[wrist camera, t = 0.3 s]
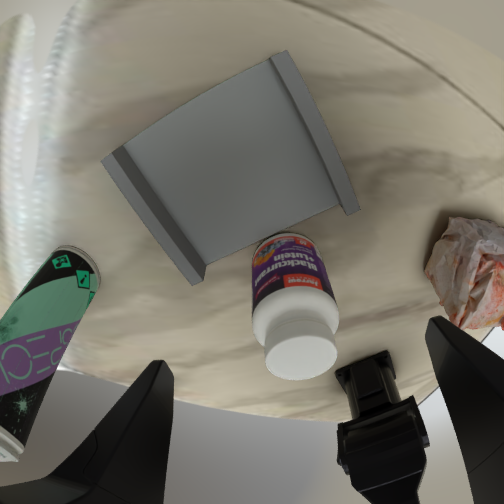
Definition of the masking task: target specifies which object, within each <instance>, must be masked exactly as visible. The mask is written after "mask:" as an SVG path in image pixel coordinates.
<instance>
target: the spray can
mask: <svg viewBox="0 0 504 504" xmlns="http://www.w3.org/2000/svg"><path fill="white" fill-rule="evenodd" d="M99 285H100V274H99V271H98V268H97V266H96V264H95V263H94V262H93V260H92V259H91V258H90V257H89V256H88V255H87V254H86V253H84V252H83V251H81V250H80V249H78V248H75V247H72V246H62V247H59V248H57V249H56V250H55V251H54V252H53V253H52V254H51V255H50V256H49V257H48V259H47V260H46V261H45V262H44V263H43V265H42V266H41V267H40V268H39V269H38V271H37V272H36V273H35V274H34V276H33V277H32V278H31V279H30V281H29V282H28V283H27V285H26V286H25V287H24V288H23V290H22V291H21V292H20V294H19V295H18V296H17V298H16V299H15V300H14V302H13V303H12V304H11V306H10V307H9V309H8V310H7V311H6V313H5V314H4V316H3V317H2V319H1V320H0V461H15V462H18V461H19V456H18V455H19V454H21V453H23V451H24V448H25V445H26V442H27V439H28V436H29V434H30V431H31V428H32V426H33V423H34V420H35V418H36V415H37V413H38V410H39V408H40V406H41V403H42V401H43V398H44V396H45V394H46V391H47V389H48V387H49V384H50V382H51V380H52V377H53V375H54V373H55V371H56V369H57V367H58V365H59V362H60V360H61V358H62V356H63V354H64V352H65V350H66V348H67V346H68V344H69V342H70V340H71V338H72V336H73V334H74V332H75V330H76V328H77V326H78V324H79V322H80V321H81V319H82V317H83V315H84V313H85V311H86V309H87V308H88V306H89V304H90V302H91V300H92V299H93V297H94V295H95V293H96V291H97V289H98V287H99Z"/></svg>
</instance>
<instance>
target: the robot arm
mask: <svg viewBox="0 0 504 504" xmlns="http://www.w3.org/2000/svg"><path fill="white" fill-rule="evenodd" d="M425 340H426V344H427V347H428V350H429V354H430V357H431V361H432V365H433V368H434V372H435V375H436V379H437V381H438V384H439V387H440V389H441V392H442V395H443V398H444V400H445V403H446V406H447V408H448V412H449V414H450V417H451V420H452V423H453V426H454V430H455V432H456V436H457V439H458V442H459V446H460V449H461V452H462V456H463V459H464V463H465V467H466V471H467V474H468V479H469V483H470V487H471V492H472V496H473V501H474V504H504V359H502V358H501V357H500V356H498V355H497V354H496V353H494V352H493V351H491V350H490V349H489V348H487V347H486V346H484V345H483V344H482V343H480V342H479V341H477V340H476V339H474V338H473V337H472V336H470V335H469V334H467V333H466V332H464V331H463V330H462V329H460V328H459V327H457V326H456V325H454V324H453V323H451V322H450V321H448V320H447V319H445V318H444V317H442V316H435V317H432V318H430V319H429V322H428V326H427V330H426V334H425ZM335 375H336V378H337V379H338V381H339V383H340V384H341V386H342V388H343V389H344V391H345V393H346V394H347V397H348V401H349V406H350V410H351V415H352V419H353V420H350V421H347V422H344V423H343V422H342V423H339V424H338V430H337V439H338V454H337V463H338V465H340V466H342V468H343V469H344V471H345V473H346V475H350V479H351V484H352V486H353V487H354V488H355V489H356V491H358V492H359V493H360V494H362V495H363V496H364V497H365V498H366V499H367V500H368V501H369V502H370V503H371V504H420V501H419V496H418V490H419V487H420V484H421V482H422V479H423V476H424V472H425V469H426V465H427V459H426V454H425V451H424V448H426V447H429V446H430V443H429V439H428V435H427V431H426V428H425V425H424V422H423V419H422V417H421V414H420V411H419V409H418V406H417V404H416V401H415V398H414V396H413V395H412V396H410V397H409V398H407V399H405V400H402V401H401V398H400V395H399V392H398V389H397V386H396V383H395V379H396V375H395V371H394V368H393V364H392V360H391V357H390V354H389V352H388V351H385V352H382V353H380V354H378V355H375V356H373V357H370V358H368V359H365V360H363V361H361V362H358V363H355V364H353V365H350V366H348V367H345V368H342V369H340V370H337V371H336V372H335ZM173 400H174V376H173V373H172V372H171V370H170V368H169V367H168V365H167V363H166V362H165V361H164V360H153V361H152V362H151V363H150V364H149V365H148V366H147V367H146V369H145V370H144V371H143V372H142V373H141V374H140V376H139V377H138V378H137V379H136V380H135V381H134V383H133V384H132V385H131V386H130V387H129V389H128V390H127V391H126V392H125V393H124V394H123V396H122V397H121V398H120V399H119V400H118V401H117V402H116V404H115V405H114V406H113V407H112V408H111V410H110V411H109V412H108V413H107V414H106V416H105V417H104V418H103V419H102V420H101V421H100V423H99V424H98V425H97V426H96V427H95V430H93V431H92V432H91V433H90V434H89V435H88V437H87V438H86V439H85V440H84V441H83V442H82V443H81V444H80V446H79V447H77V448H76V449H75V450H74V452H72V454H71V455H70V456H68V457H67V458H66V459H65V460H64V461H63V462H62V463H61V464H60V465H59V466H58V467H57V468H56V469H55V470H54V471H53V472H51V473H50V474H49V475H48V476H46V477H44V478H41V479H38V480H34V481H29V482H24V483H19V484H14V485H8V486H2V487H0V504H163V501H164V490H165V481H166V472H167V463H168V454H169V446H170V438H171V430H172V422H173Z"/></svg>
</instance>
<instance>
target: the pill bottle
mask: <svg viewBox="0 0 504 504" xmlns="http://www.w3.org/2000/svg"><path fill="white" fill-rule="evenodd" d="M338 325H339V311H338V307H337V303H336V300H335V297H334V294H333V291H332V288H331V285H330V282H329V279H328V276H327V272H326V269H325V266H324V263H323V260H322V257H321V254H320V252H319V250H318V248H317V247H316V245H315V244H314V243H313V242H312V241H311V240H309V239H308V238H306V237H304V236H302V235H299V234H295V233H283V234H278V235H275V236H273V237H270V238H269V239H267V240H266V241H264V242H263V243H262V244H261V245H260V246H259V247H258V248H257V250H256V252H255V254H254V257H253V261H252V329H253V333H254V335H255V337H256V339H257V340H258V342H259V343H260V344H261V345H262V346H263V347H264V353H265V363H266V367H267V369H268V370H269V371H270V372H271V373H272V374H273V375H275V376H277V377H279V378H282V379H287V380H305V379H310V378H313V377H316V376H319V375H321V374H323V373H324V372H326V371H327V370H328V369H330V368H331V367H332V366H333V364H334V363H335V361H336V359H337V347H336V343H335V337H334V334H335V333H336V331H337V328H338Z"/></svg>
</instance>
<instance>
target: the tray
mask: <svg viewBox="0 0 504 504" xmlns="http://www.w3.org/2000/svg"><path fill="white" fill-rule="evenodd" d="M101 163H102V164H103V166H104V167H105V169H106V170H107V172H108V173H109V175H110V176H111V178H112V179H113V181H114V182H115V183H116V185H117V186H118V188H119V189H120V191H121V192H122V193H123V195H124V196H125V198H126V199H127V201H128V202H129V203H130V205H131V206H132V208H133V209H134V210H135V212H136V213H137V214H138V216H139V217H140V219H141V220H142V221H143V223H144V224H145V225H146V227H147V228H148V229H149V231H150V232H151V233H152V235H153V236H154V238H155V239H156V240H157V242H158V243H159V244H160V245H161V247H162V248H163V249H164V251H165V252H166V253H167V255H168V256H169V257H170V259H171V260H172V261H173V262H174V264H175V265H176V266H177V268H178V269H179V270H180V271H181V273H182V274H183V275H184V276H185V278H186V279H187V280H188V282H189V283H190V284H191V285H192V286H193V285H195V284H197V283H200V282H202V281H203V280H204V275H205V270H206V265H208V264H210V263H212V262H214V261H216V260H219V259H221V258H223V257H225V256H227V255H229V254H232V253H234V252H236V251H238V250H240V249H242V248H244V247H247V246H249V245H251V244H253V243H255V242H257V241H260V240H262V239H264V238H266V237H268V236H270V235H273V234H275V233H277V232H279V231H281V230H283V229H286V228H288V227H290V226H292V225H294V224H296V223H299V222H301V221H303V220H305V219H307V218H309V217H312V216H314V215H316V214H318V213H320V212H323V211H325V210H327V209H329V208H331V207H333V206H336V205H338V204H340V205H341V207H342V208H343V210H344V211H345V213H346V215H347V216H348V215H350V214H352V213H355V212H357V211H359V210H361V209H360V206H359V204H358V201H357V198H356V196H355V193H354V191H353V188H352V186H351V183H350V181H349V178H348V176H347V173H346V171H345V168H344V166H343V163H342V161H341V159H340V156H339V154H338V152H337V149H336V147H335V145H334V143H333V140H332V138H331V136H330V134H329V132H328V129H327V127H326V125H325V123H324V121H323V119H322V117H321V114H320V112H319V110H318V108H317V106H316V104H315V102H314V100H313V98H312V96H311V94H310V92H309V90H308V88H307V86H306V84H305V82H304V81H303V79H302V77H301V75H300V73H299V71H298V69H297V67H296V66H295V64H294V62H293V60H292V58H291V57H290V55H289V53H288V51H287V50H285V51H283V52H281V53H278V54H276V55H274V56H272V57H270V58H269V59H268V60H266V61H264V62H262V63H260V64H258V65H255V66H253V67H251V68H249V69H247V70H245V71H243V72H241V73H239V74H237V75H235V76H233V77H232V78H230V79H228V80H226V81H224V82H222V83H220V84H218V85H217V86H215V87H213V88H211V89H209V90H208V91H206V92H204V93H202V94H201V95H199V96H197V97H195V98H194V99H192V100H190V101H189V102H187V103H185V104H184V105H182V106H181V107H179V108H177V109H176V110H174V111H173V112H171V113H169V114H168V115H166V116H165V117H163V118H162V119H160V120H159V121H157V122H156V123H154V124H153V125H151V126H150V127H148V128H147V129H145V130H144V131H142V132H141V133H139V134H138V135H137V136H135V137H134V138H132V139H131V140H130V141H128V142H127V143H125V144H124V145H123V146H121V147H119V148H118V149H116V150H115V151H113V152H112V153H110V154H109V155H108V156H106V157H105V158H104V159H103V160H101Z"/></svg>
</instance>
